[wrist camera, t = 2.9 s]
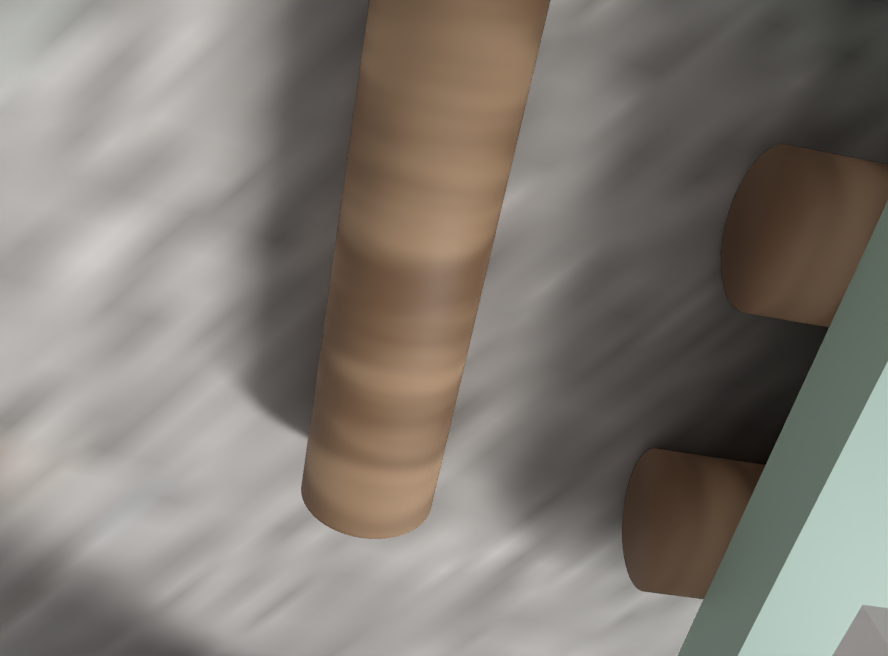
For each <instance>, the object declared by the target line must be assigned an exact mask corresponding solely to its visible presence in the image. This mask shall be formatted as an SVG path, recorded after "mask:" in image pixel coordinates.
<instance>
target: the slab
mask: <svg viewBox="0 0 888 656" xmlns="http://www.w3.org/2000/svg"><path fill="white" fill-rule="evenodd" d="M862 605H868V606H876V607H883V608H888V201H887V203H886V205H885V208H884V210H883V212H882V214H881V216H880V218H879V221H878V223H877V225H876V227H875V229H874V231H873V234H872V236H871V238H870V240H869V242H868V244H867V247H866V249H865V251H864V253H863V255H862V257H861V260H860V262H859V264H858V266H857V269H856V271H855V273H854V275H853V277H852V279H851V281H850V283H849V286H848V288H847V290H846V292H845V294H844V296H843V299H842V301H841V303H840V305H839V307H838V309H837V312H836V314H835V316H834V318H833V320H832V322H831V325H830V327H829V329H828V331H827V333H826V335H825V338H824V340H823V342H822V344H821V346H820V348H819V351H818V353H817V355H816V357H815V359H814V361H813V364H812V366H811V368H810V370H809V372H808V374H807V377H806V379H805V381H804V383H803V385H802V387H801V390H800V392H799V394H798V396H797V398H796V400H795V403H794V405H793V407H792V409H791V411H790V413H789V416H788V418H787V420H786V422H785V424H784V426H783V429H782V431H781V433H780V435H779V437H778V439H777V442H776V444H775V446H774V448H773V450H772V452H771V455H770V457H769V459H768V461H767V463H766V465H765V468H764V470H763V472H762V474H761V476H760V478H759V481H758V483H757V485H756V487H755V489H754V491H753V494H752V496H751V498H750V500H749V502H748V504H747V507H746V509H745V511H744V513H743V515H742V517H741V520H740V522H739V524H738V526H737V528H736V530H735V533H734V535H733V537H732V539H731V541H730V543H729V546H728V548H727V550H726V552H725V554H724V556H723V559H722V561H721V563H720V565H719V567H718V569H717V572H716V574H715V577H714V578H713V580H712V582H711V585H710V587H709V589H708V591H707V593H706V595H705V598H704V600H703V602H702V604H701V606H700V608H699V611H698V613H697V615H696V617H695V619H694V621H693V624H692V626H691V628H690V630H689V632H688V634H687V637H686V639H685V641H684V643H683V645H682V648H681V650H680V652H679V654H678V656H832V655H833V654H834V652H835V650H836V649H837V647H838V645H839V644H840V642H841V640H842V638H843V637H844V635H845V633H846V632H847V630H848V628H849V627H850V625H851V623H852V622H853V620H854V618H855V617H856V615H857V613H858V612H859V610H860V608H861V606H862Z"/></svg>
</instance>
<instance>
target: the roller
mask: <svg viewBox="0 0 888 656" xmlns="http://www.w3.org/2000/svg"><path fill="white" fill-rule="evenodd" d="M549 3H550V0H369V7H368V14H367V21H366V28H365V36H364V43H363V50H362V57H361V64H360V71H359V78H358V86H357V93H356V100H355V107H354V114H353V121H352V129H351V136H350V143H349V150H348V157H347V164H346V171H345V179H344V186H343V193H342V200H341V207H340V214H339V222H338V229H337V236H336V243H335V250H334V257H333V264H332V272H331V279H330V286H329V293H328V300H327V307H326V315H325V322H324V329H323V336H322V343H321V350H320V357H319V365H318V372H317V379H316V386H315V393H314V400H313V408H312V415H311V422H310V429H309V436H308V443H307V450H306V458H305V465H304V472H303V479H302V486H301V493H302V498H303V501H304V503H305V505H306V507H307V508H308V510H309V511H310V512H311V513H312V514H313V516H314V517H316V518H317V519H318V520H319V521H320V522H322V523H323V524H325V525H326V526H328V527H330V528H332V529H334V530H336V531H338V532H341V533H344V534H347V535H350V536H355V537H359V538H368V539H383V538H391V537H396V536H400V535H403V534H406V533H408V532H410V531H412V530H414V529H415V528H417V527H418V526H419V525H421V524H422V523H423V522H424V520H425V519H426V518H427V516H428V514H429V512H430V509H431V505H432V501H433V497H434V493H435V488H436V484H437V480H438V476H439V471H440V467H441V463H442V459H443V454H444V450H445V446H446V442H447V437H448V433H449V429H450V425H451V420H452V416H453V412H454V407H455V403H456V399H457V395H458V390H459V386H460V382H461V378H462V373H463V369H464V365H465V361H466V356H467V352H468V348H469V344H470V339H471V335H472V331H473V327H474V322H475V318H476V314H477V310H478V305H479V301H480V297H481V293H482V288H483V284H484V280H485V276H486V271H487V267H488V263H489V259H490V254H491V250H492V246H493V242H494V237H495V233H496V229H497V225H498V220H499V216H500V212H501V208H502V203H503V199H504V195H505V191H506V186H507V182H508V178H509V173H510V169H511V165H512V161H513V156H514V152H515V148H516V144H517V139H518V135H519V131H520V127H521V122H522V118H523V114H524V110H525V105H526V101H527V97H528V93H529V88H530V84H531V80H532V76H533V71H534V67H535V63H536V59H537V54H538V50H539V46H540V42H541V37H542V33H543V29H544V25H545V20H546V16H547V12H548V8H549Z"/></svg>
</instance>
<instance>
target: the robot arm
mask: <svg viewBox="0 0 888 656" xmlns="http://www.w3.org/2000/svg"><path fill="white" fill-rule="evenodd" d="M832 656H888V608H883V607H876V606H868V605H862V606H861V608H860V610H859V612H858V613H857V615H856V617H855V618H854V620H853V622H852V623H851V625H850V627H849V628H848V630H847V632H846V633H845V635H844V637H843V638H842V640H841V642H840V644H839V645H838V647H837V649H836V650H835V652H834V654H833V655H832Z"/></svg>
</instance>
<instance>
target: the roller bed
mask: <svg viewBox="0 0 888 656" xmlns="http://www.w3.org/2000/svg"><path fill="white" fill-rule="evenodd" d="M887 201H888V164H884V163H878V162H873V161H868V160H863V159H858V158H853V157H848V156H842V155H837V154H832V153H827V152H822V151H817V150H811V149H806V148H801V147H796V146H791V145H785V144H782V145H777V146H774V147H772V148H770V149H768V150H767V151H765V152H764V153H763V154H762V155H761V156H760V157H759V158H758V159H757V160H756V161H755V162H754V163H753V165H752V166H751V167H750V169H749V170H748V172H747V173H746V175H745V177H744V178H743V180H742V182H741V184H740V186H739V188H738V190H737V192H736V194H735V197H734V199H733V202H732V205H731V208H730V211H729V214H728V217H727V221H726V225H725V230H724V235H723V241H722V250H721V274H722V281H723V287H724V290H725V293H726V296H727V298H728V300H729V302H730V303H731V305H732V306H733V307H734V308H735V309H737V310H738V311H740V312H743V313H747V314H753V315H759V316H765V317H771V318H777V319H783V320H789V321H795V322H801V323H806V324H812V325H818V326H824V327H830V325H831V322H832V320H833V318H834V316H835V314H836V312H837V309H838V307H839V305H840V303H841V301H842V299H843V296H844V294H845V292H846V290H847V288H848V286H849V283H850V281H851V279H852V277H853V275H854V273H855V271H856V269H857V266H858V264H859V262H860V260H861V257H862V255H863V253H864V251H865V249H866V247H867V244H868V242H869V240H870V238H871V236H872V234H873V231H874V229H875V227H876V225H877V223H878V221H879V218H880V216H881V214H882V212H883V210H884V208H885V205H886V203H887ZM764 468H765V465H763V464H756V463H750V462H743V461H736V460H729V459H723V458H716V457H709V456H702V455H696V454H689V453H682V452H675V451H669V450H662V449H655V448H653V449H649V450H648V451H646V452H645V453H644V454H643V455H642V456H641V457H640V459H639V460H638V462H637V464H636V466H635V468H634V470H633V472H632V475H631V478H630V481H629V484H628V488H627V492H626V497H625V502H624V509H623V520H622V543H623V553H624V559H625V564H626V568H627V571H628V574H629V577H630V579H631V581H632V582H633V584H634V585H635V586H636V588H637V589H639V590H641V591H645V592H652V593H660V594H668V595H676V596H683V597H691V598H699V599H704V598H705V595H706V593H707V591H708V589H709V587H710V585H711V582H712V580H713V578H714V577H715V574H716V572H717V569H718V567H719V565H720V563H721V561H722V559H723V556H724V554H725V552H726V550H727V548H728V546H729V543H730V541H731V539H732V537H733V535H734V533H735V530H736V528H737V526H738V524H739V522H740V520H741V517H742V515H743V513H744V511H745V509H746V507H747V504H748V502H749V500H750V498H751V496H752V494H753V491H754V489H755V487H756V485H757V483H758V481H759V478H760V476H761V474H762V472H763V470H764Z"/></svg>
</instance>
